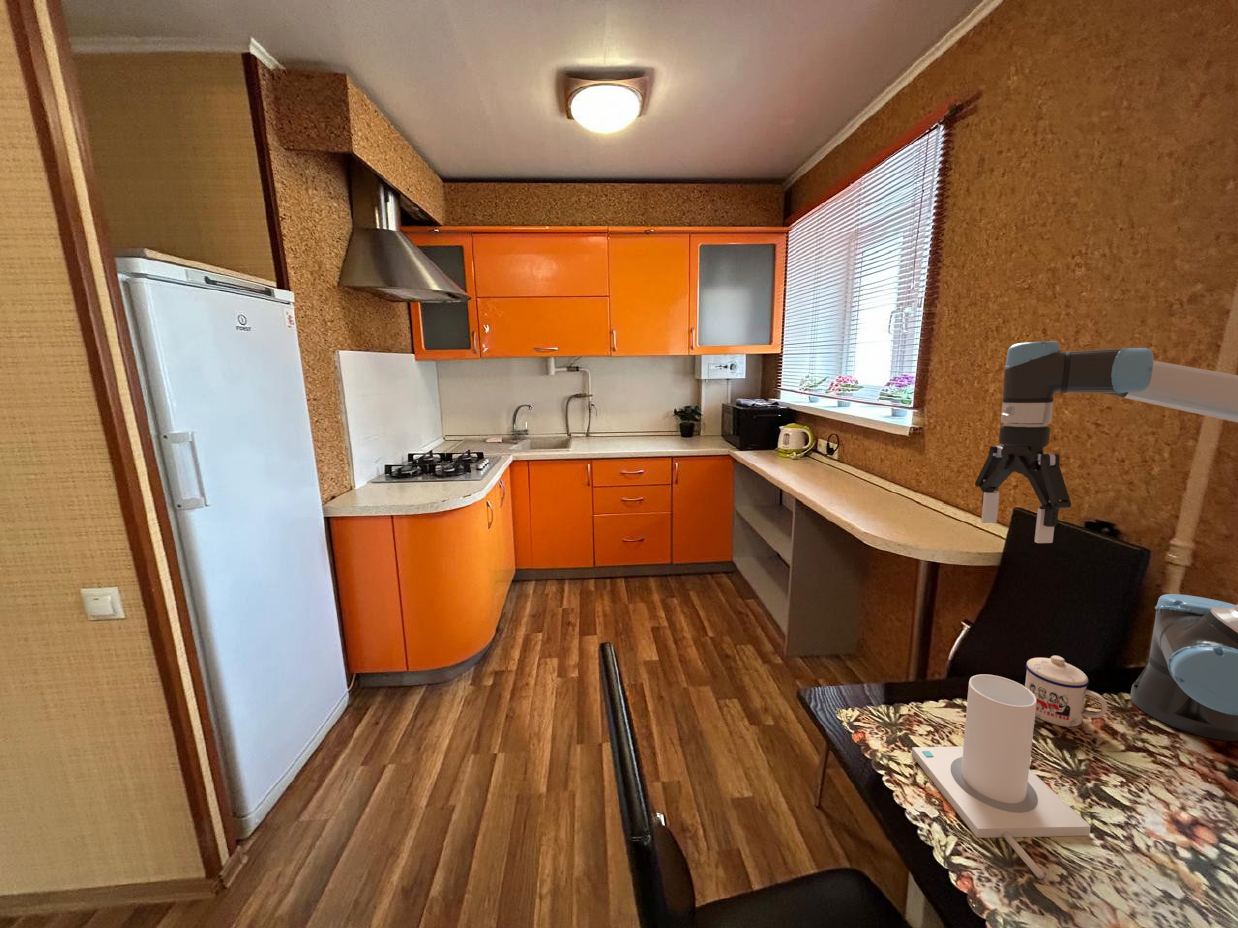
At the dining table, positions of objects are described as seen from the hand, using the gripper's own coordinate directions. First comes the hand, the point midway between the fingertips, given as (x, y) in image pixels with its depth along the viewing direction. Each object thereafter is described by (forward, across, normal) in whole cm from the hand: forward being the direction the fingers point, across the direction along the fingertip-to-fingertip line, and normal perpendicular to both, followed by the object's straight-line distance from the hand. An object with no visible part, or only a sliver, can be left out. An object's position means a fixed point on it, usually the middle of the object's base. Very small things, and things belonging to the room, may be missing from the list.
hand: (1014, 531), depth 97 cm
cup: (+33, +25, -20) cm, 46 cm away
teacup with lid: (+35, +8, +6) cm, 36 cm away
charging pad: (+35, +28, -20) cm, 49 cm away
